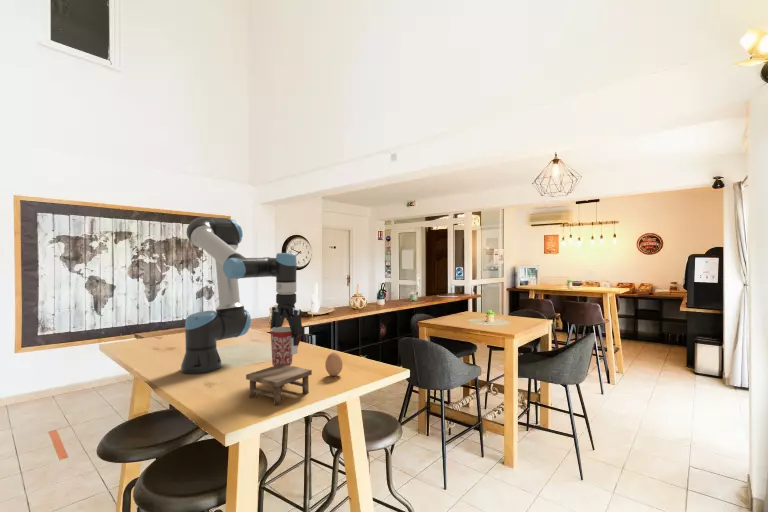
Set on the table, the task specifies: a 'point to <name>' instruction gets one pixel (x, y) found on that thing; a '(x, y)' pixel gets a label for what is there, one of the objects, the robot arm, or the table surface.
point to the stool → (278, 380)
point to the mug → (281, 345)
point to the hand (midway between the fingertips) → (286, 352)
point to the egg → (333, 364)
